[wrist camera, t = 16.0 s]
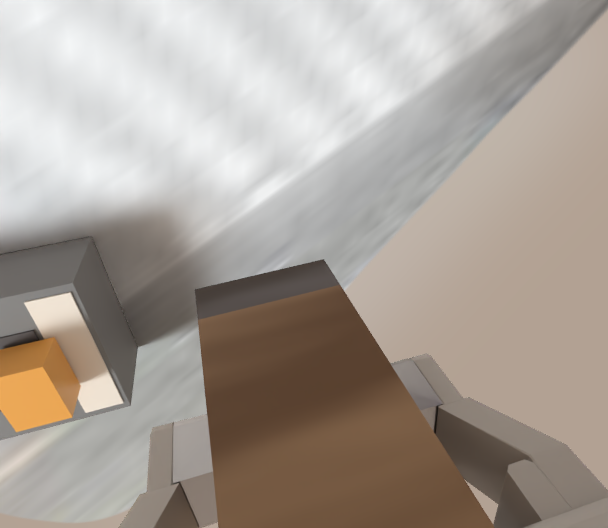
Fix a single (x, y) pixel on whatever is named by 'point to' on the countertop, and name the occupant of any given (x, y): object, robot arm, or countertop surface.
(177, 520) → the robot arm
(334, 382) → the brown wooden block
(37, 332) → the switch box
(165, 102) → the countertop surface
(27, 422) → the switch tab
